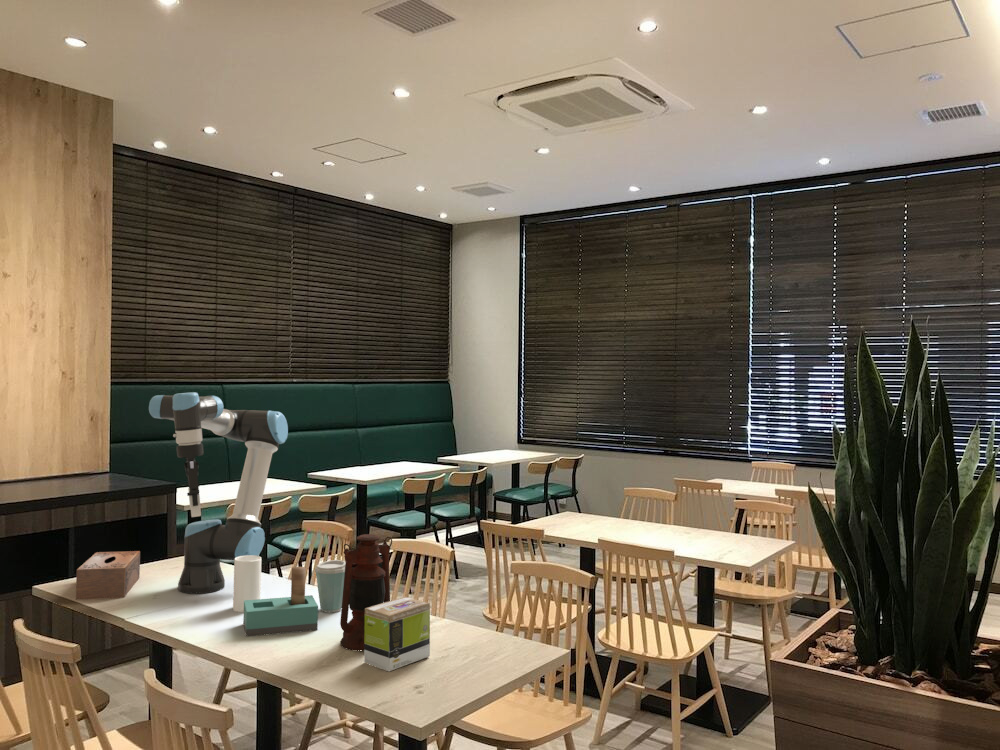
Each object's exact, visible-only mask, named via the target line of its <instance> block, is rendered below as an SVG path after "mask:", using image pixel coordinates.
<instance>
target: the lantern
mask: <svg viewBox="0 0 1000 750" xmlns="http://www.w3.org/2000/svg"><path fill="white" fill-rule="evenodd" d="M380 539H381V538H380V536H379V535H376V534H372V533H367V534H360V535H358V536H356V540H357V541H359V542H358V543H357V544H356V547H357V548H354V549H352V547H351V546H350V544H349V543H344V545H343V550H344V551H343V554H344V561H345V562H346V564H345V575H344V587H343V598H342V608H341V610H340V611H341V612H340V620H339V625H340V628H341V630H342V631H343V633H342V638H341V639H340V641H339V643H340V646H341V647H342V646H343V647H344V649H345V648H347V649H346V650H349V649H350V650H349V651H353V650H357V651H356V652H364V637H365V608H368V607H371V606H375V605H378V604H381V603H385V602H389V601H391V587H390V586H391V585H390V583H391V582H390V551H391V547H392V544H393V538H392V537H390V536H386V538H384V542H383V543H382V544H379V543H378V542H377V541H379V540H380ZM388 539H390V544H388V543H387V542H386V541H387V540H388ZM346 546H347V548H346ZM380 555H381V556H380ZM381 563H382V564H381ZM379 564H381V565H382V567H381V566H379ZM349 609H350V611H351V615H352V618H351V619H350V620H349V619H348V618H349ZM348 620H349V621H348ZM343 647H342V648H343ZM358 650H359V651H358ZM360 650H362V651H360Z"/></svg>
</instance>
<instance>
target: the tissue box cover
mask: <svg viewBox="0 0 1000 750" xmlns="http://www.w3.org/2000/svg"><path fill="white" fill-rule="evenodd" d="M140 566H141V551H140V550H134V551H133V550H132V551H131V550H129V551H99V552H98V551H97V552H94V554H92V556H91V557H89V558H88V559H87V560H85V562H83V564H82V565H80V566H79V567H78V568H77V569H76V580H75V581H76V582H75V586H76V587H75V588H76V589H75V600H77V601H79V600H96V599H97V600H100V599H102V600H105V599H124V598H125V597H126V596H127V595H128V593H130V591H131V590H132V588H133V587H134V586H135V584H136V583H137V582H138V581H139V579H140V571H141V567H140Z"/></svg>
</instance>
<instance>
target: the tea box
mask: <svg viewBox="0 0 1000 750" xmlns="http://www.w3.org/2000/svg"><path fill="white" fill-rule="evenodd" d="M430 612H431V604H430V602H426V601H422V600H418V599H415V598H410V597H408V596H402V597H398V598H396V599H393V600H390V601H389V602H385V603H384V602H383V603H381V604H378V605H375V606H371V607H368V608H365V637H364V651H363V653H364V654H363V658H364V661H363V662H364V663H365V664H366V663H368V664H367V665H369V664H370V665H369V666H371V665H373V666H372V667H374V666H376V667H375V668H377V667H378V668H377V669H380V668H381V669H380V670H382V669H384V670H383V671H385V670H386V671H385V672H391V671H394V670H397V669H400V668H402V667H405V666H407V665H411V664H412V663H415V662H418V661H421V660H423V659H426V658H429V657H430V656H431V649H430V647H431V646H430V645H431V641H430V640H431V630H430V629H431V627H430V626H431V613H430Z"/></svg>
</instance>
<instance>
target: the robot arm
mask: <svg viewBox="0 0 1000 750" xmlns="http://www.w3.org/2000/svg"><path fill="white" fill-rule="evenodd" d="M148 404H149V405H148V411H149V412H148V413H149V414H150V416H151V417H152V418H153V419H160V420H170V421H173V422H174V431H175V433H173V435H172V437H173V438H175V443H176V444H178V445H176V456H177V458H181V459H185V461H186V462H184V463H183V465H184V470H185V474H186V477H187V488H188V489H187V490H188V492H187V493H186V495H187V496H188V500H189V510H190V516H191V518H196V517H201V516H202V511H201V497H200V488H199V487H200V483H199V480H198V476H199V461H196V457H200V456H203V455H204V444H203V443H202V442H203V429H206V430H208V431H211V432H212V433H213V434H215V435H217V436H221V437H224V438H226V439H230V440H233V441H237V442H244V445H245V447H246V448H247V452H246V457H245V460H244V465H243V469H242V473H241V478H240V482H239V486H238V491H237V495H236V499H235V503H234V507H233V511H232V515H230V516H228V517H227V518H226V521H225V524H222V520H221V519H217V518H215V519H206V520H199V521H194V522H191V523H189V524H187V525H186V527H185V532H184V553H183V555H184V558H183V563H184V564H183V565H184V566H183V569H182V571H181V575H180V577H179V579H178V583H177V590H178V591H179V592H180V593H183V594H184V593H186V594H208V593H214V592H218V591H220V589H221V590H223V589H224V588H225V585H226V581H225V580H226V579H225V576H224V573H223V571H222V567H221V561H234V560H235V558H236V557H239V556H247V555H254V556H259V555H260V554H261V552H262V550H263V547H264V545H265V541H266V537H265V535H266V534H265V531H264V529H263V528H261V527H262V523H261V522H260V520H259V515H260V511H261V506H262V501H263V497H264V493H265V488H266V484H267V480H268V474H269V471H270V466H271V462H272V459H273V455H274V453H276V452H277V451H278V450H279V445H282V444H285V442H286V441H287V439H288V435H289V433H288V432H289V426H288V422H287V418H286V417H285V415H284V414H283V413H282V412H280V411H276V410H275V411H274V410H255V409H253V410H250V409H249V410H248V409H236V410H235V409H234V410H233V409H227V408H224V407H225V406H224V402H223V401H222V399H221V397H219V396H216V395H206V396H199V393H198V392H194V391H192V392H182V393H175V394H173V395H169V394H167V395H165V394H160V395H159V394H158V395H154V396H152V397H151V398H150V400H149V403H148Z"/></svg>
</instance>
